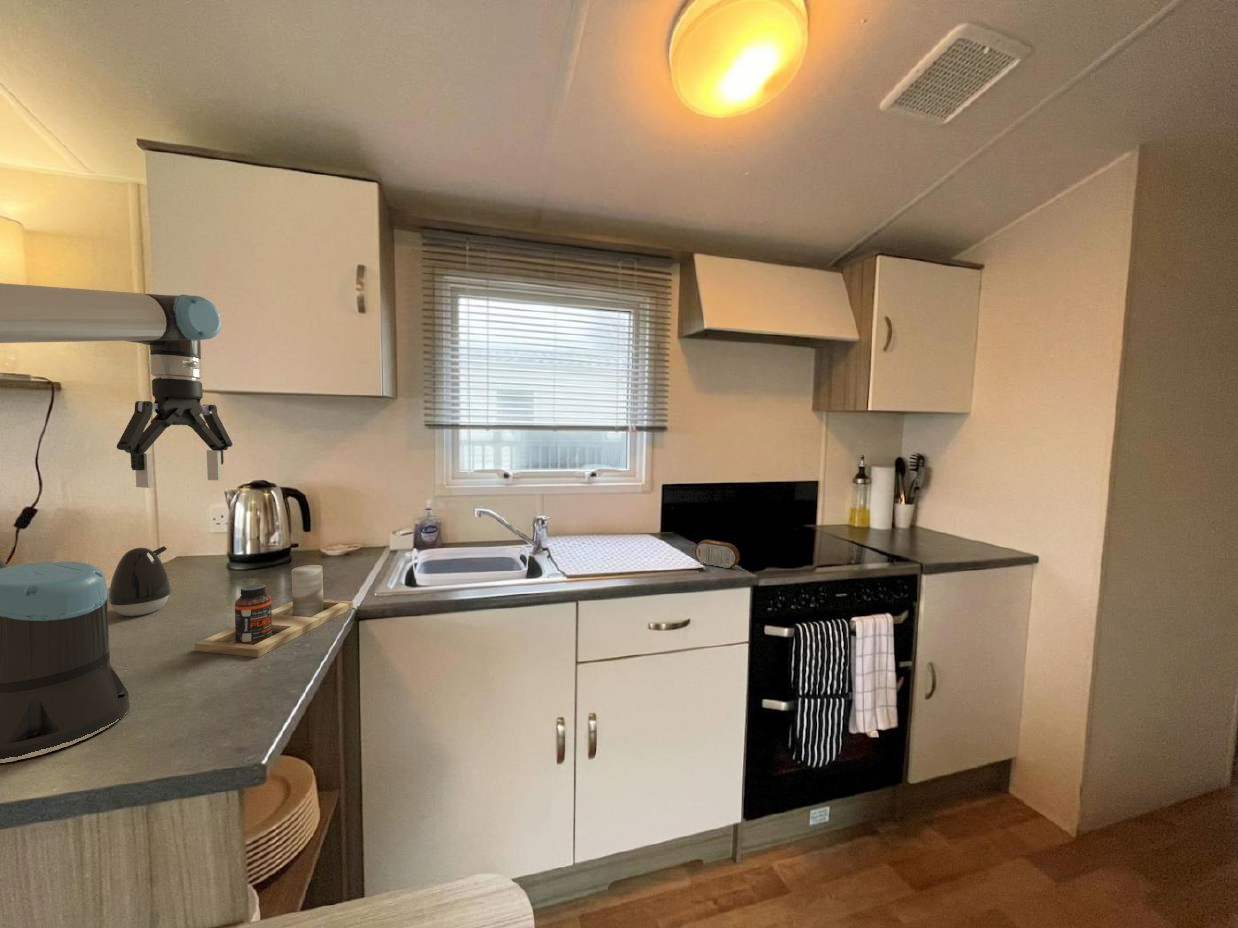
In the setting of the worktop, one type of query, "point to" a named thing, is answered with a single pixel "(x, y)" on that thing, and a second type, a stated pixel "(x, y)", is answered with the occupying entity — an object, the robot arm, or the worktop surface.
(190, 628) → the worktop surface
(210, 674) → the worktop surface
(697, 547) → the tin
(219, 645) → the frame
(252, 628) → the supplement bottle
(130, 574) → the pump dispenser
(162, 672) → the worktop surface
